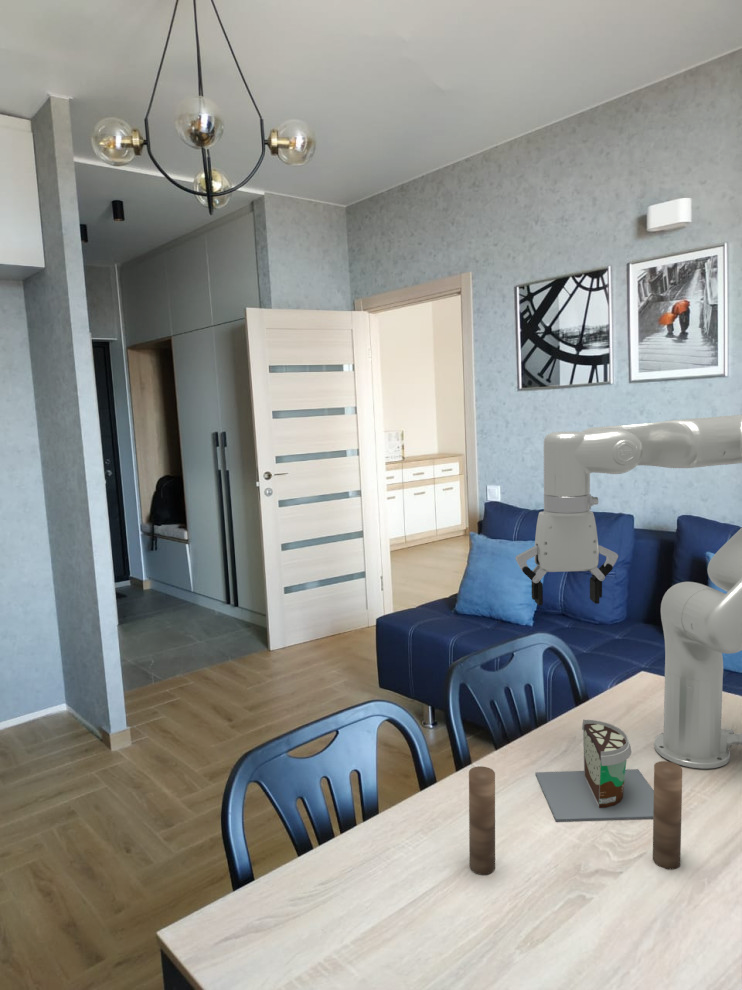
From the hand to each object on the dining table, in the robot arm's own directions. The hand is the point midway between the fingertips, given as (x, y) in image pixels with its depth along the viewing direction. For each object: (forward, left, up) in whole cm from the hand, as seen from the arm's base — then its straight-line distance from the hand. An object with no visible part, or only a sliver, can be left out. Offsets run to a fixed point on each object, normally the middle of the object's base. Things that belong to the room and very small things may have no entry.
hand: (566, 602), depth 121 cm
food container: (-5, +9, -30) cm, 32 cm away
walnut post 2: (-7, +26, -30) cm, 41 cm away
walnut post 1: (+19, +26, -30) cm, 44 cm away
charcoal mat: (-3, +9, -30) cm, 32 cm away
